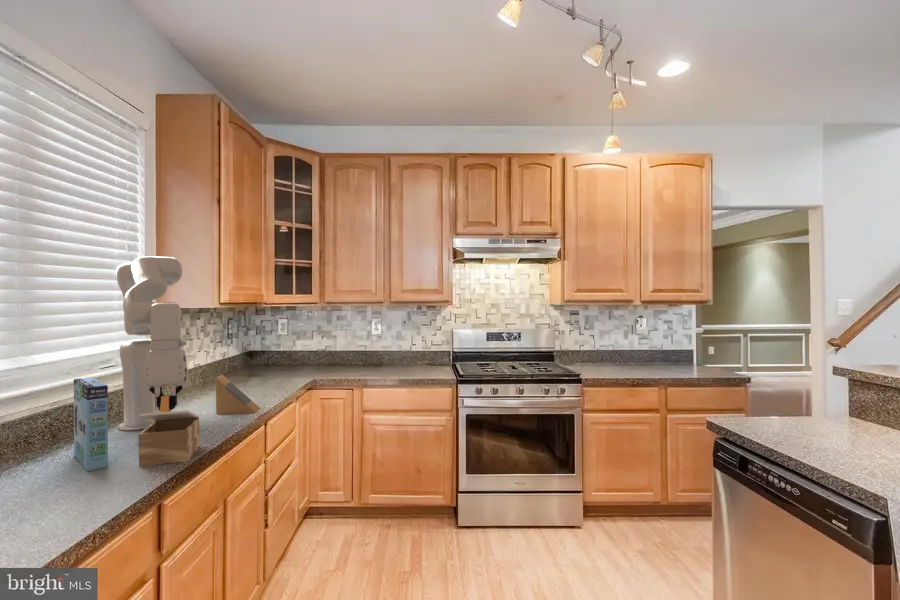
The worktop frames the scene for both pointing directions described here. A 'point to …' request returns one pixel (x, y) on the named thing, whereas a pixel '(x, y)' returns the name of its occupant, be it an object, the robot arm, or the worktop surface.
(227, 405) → the sandwich container
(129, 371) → the robot arm
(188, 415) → the lid
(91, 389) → the gum box
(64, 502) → the worktop surface
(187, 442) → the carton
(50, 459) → the worktop surface
